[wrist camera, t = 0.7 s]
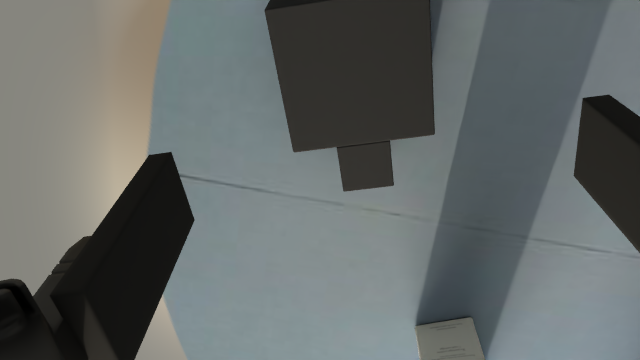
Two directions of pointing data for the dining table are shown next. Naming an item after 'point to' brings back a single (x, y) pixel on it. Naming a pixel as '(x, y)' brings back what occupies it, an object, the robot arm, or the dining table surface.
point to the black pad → (354, 79)
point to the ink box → (449, 341)
